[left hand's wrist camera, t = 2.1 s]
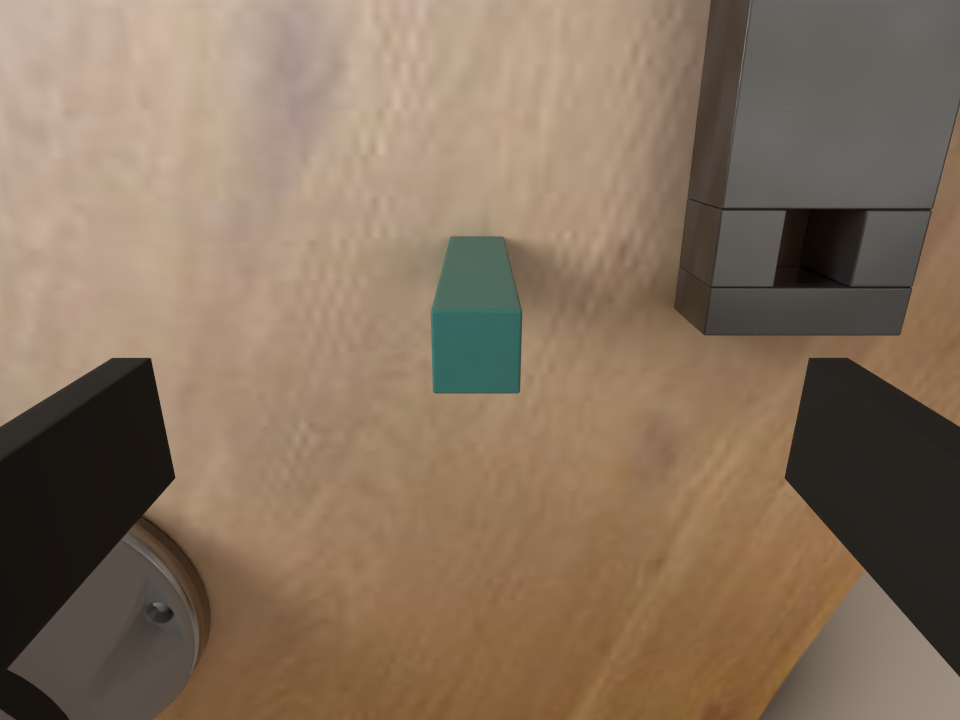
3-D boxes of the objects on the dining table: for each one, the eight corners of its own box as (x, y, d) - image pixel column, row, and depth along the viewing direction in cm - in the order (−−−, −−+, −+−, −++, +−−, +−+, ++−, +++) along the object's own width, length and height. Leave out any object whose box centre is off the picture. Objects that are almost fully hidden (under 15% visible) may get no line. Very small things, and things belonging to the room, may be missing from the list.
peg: (502, 288, 28) (519, 394, 17) (450, 289, 28) (432, 394, 17) (503, 236, 27) (522, 310, 16) (450, 236, 27) (430, 310, 16)
